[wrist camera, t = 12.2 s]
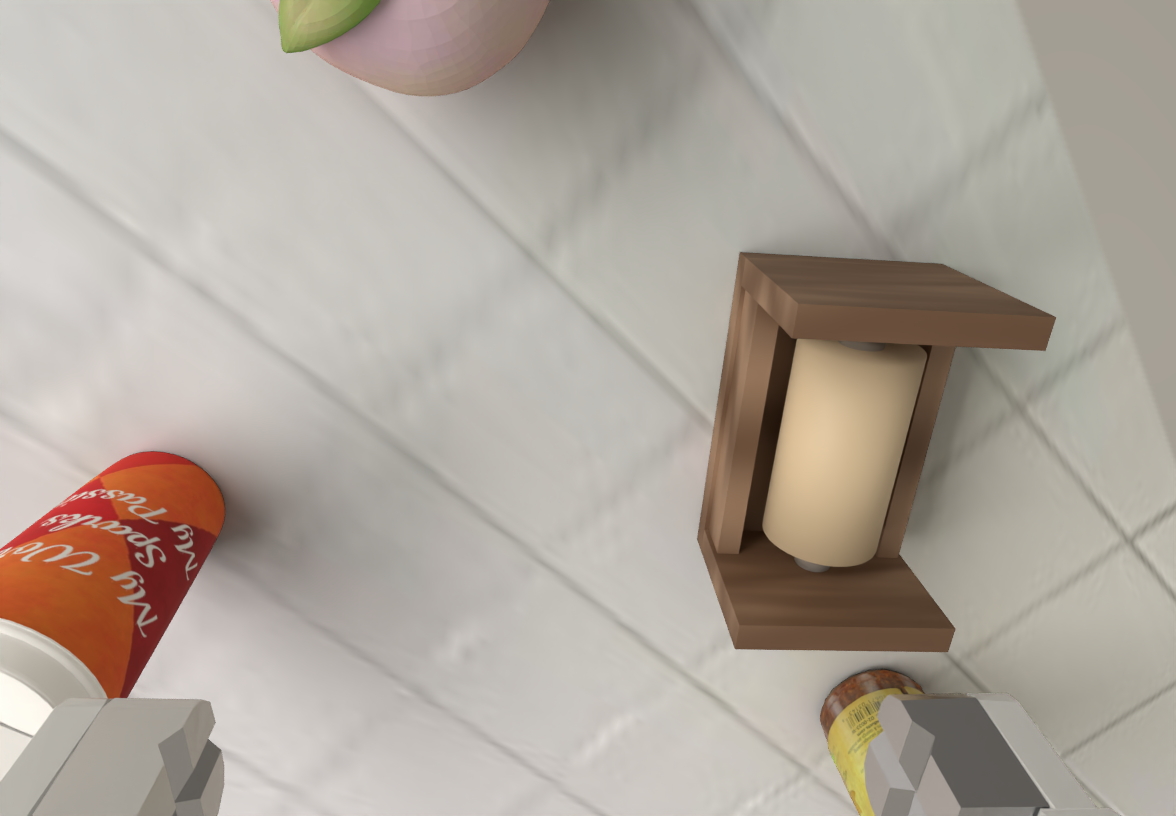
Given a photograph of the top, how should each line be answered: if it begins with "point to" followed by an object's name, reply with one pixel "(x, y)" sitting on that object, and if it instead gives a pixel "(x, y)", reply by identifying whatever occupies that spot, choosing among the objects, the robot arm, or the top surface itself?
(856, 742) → the sauce bottle
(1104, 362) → the top surface
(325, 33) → the decorative fruit
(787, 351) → the holder
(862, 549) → the roll
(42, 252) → the top surface
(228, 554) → the top surface
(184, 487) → the paper cup
